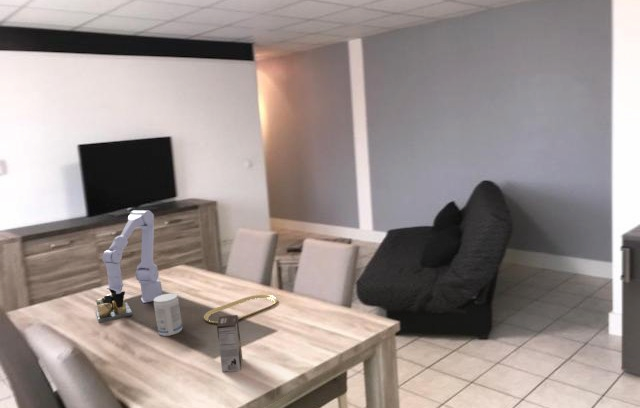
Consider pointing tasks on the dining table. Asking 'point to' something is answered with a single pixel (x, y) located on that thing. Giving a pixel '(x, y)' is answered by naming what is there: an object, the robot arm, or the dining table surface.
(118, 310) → the tan hollow octagonal prism
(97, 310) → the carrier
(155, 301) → the supplement tub
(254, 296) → the loop handle
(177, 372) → the dining table surface
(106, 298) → the pneumatic valve
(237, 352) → the coffee box
